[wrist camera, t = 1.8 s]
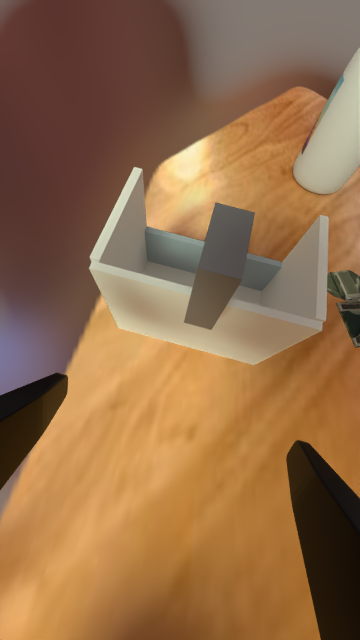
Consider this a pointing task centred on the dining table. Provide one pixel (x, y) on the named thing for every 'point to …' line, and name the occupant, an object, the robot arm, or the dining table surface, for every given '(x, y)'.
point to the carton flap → (205, 300)
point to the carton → (184, 253)
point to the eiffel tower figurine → (353, 289)
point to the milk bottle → (333, 138)
